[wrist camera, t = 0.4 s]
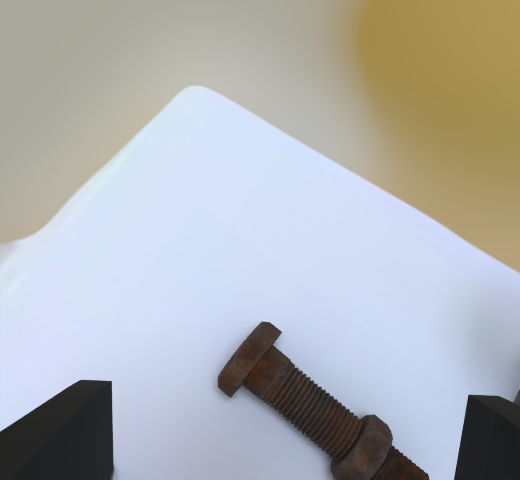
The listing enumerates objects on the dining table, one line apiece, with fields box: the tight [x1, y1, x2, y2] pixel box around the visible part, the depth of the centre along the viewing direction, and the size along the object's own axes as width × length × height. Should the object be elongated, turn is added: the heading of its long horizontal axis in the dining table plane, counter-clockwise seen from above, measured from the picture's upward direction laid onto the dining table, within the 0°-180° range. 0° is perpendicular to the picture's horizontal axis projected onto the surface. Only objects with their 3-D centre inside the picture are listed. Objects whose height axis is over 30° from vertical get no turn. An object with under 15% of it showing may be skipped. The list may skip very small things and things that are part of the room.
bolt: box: [218, 322, 429, 480], centre depth 32 cm, size 6×5×15 cm
